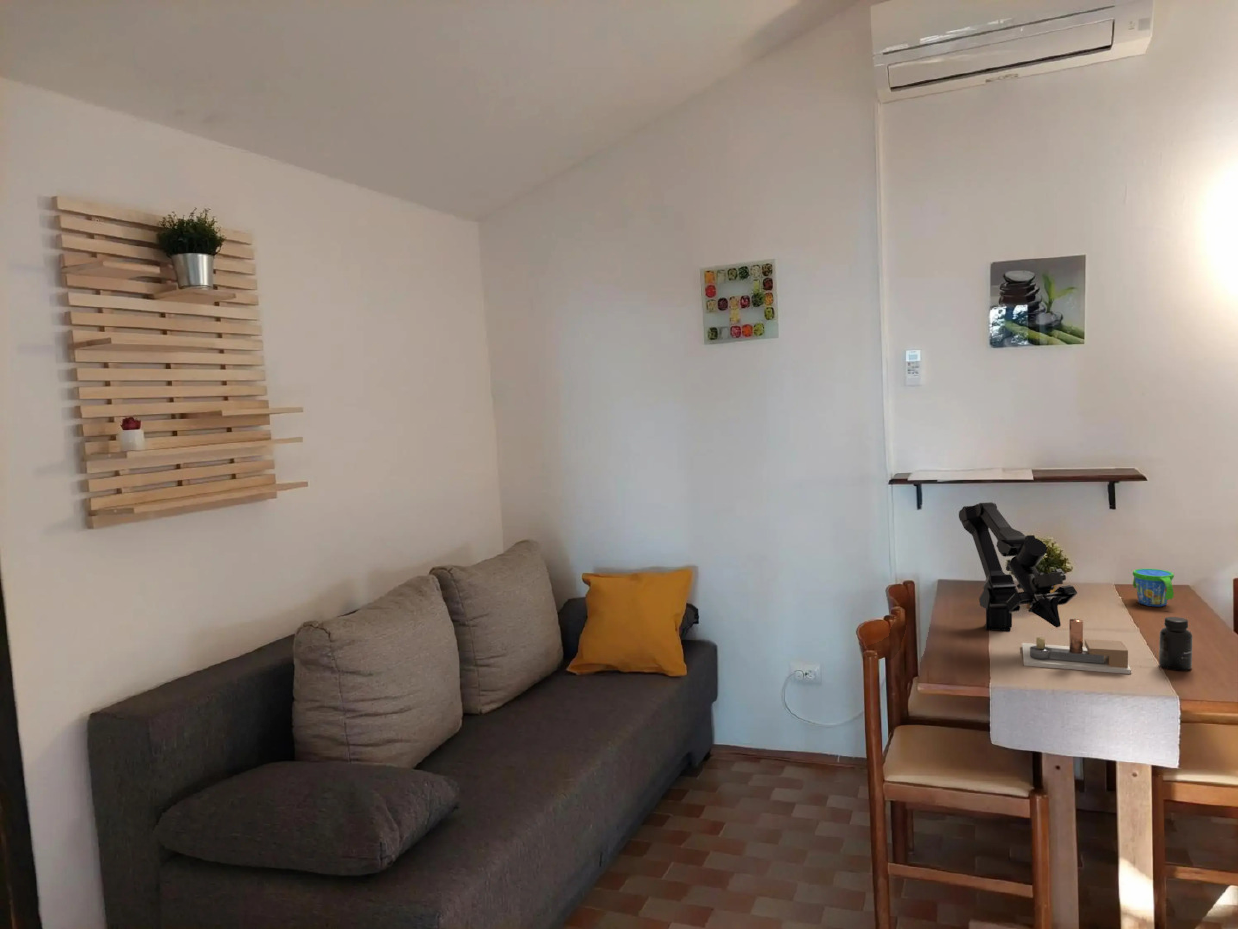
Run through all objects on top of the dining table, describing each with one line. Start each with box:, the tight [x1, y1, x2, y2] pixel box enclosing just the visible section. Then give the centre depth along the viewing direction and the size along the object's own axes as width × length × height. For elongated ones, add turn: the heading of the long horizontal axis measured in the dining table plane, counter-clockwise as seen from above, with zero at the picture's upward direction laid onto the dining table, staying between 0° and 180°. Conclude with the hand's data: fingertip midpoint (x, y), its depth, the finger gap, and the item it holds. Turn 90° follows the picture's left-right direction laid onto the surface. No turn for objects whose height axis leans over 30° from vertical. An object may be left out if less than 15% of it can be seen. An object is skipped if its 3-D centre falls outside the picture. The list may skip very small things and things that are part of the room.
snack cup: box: [1132, 568, 1175, 608], centre depth 270 cm, size 16×11×10 cm
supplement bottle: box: [1158, 616, 1193, 672], centre depth 214 cm, size 7×7×12 cm
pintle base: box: [1021, 636, 1132, 675], centre depth 223 cm, size 24×16×6 cm
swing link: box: [1030, 618, 1104, 664], centre depth 220 cm, size 16×5×10 cm, turn 65°
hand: (1058, 626), depth 226 cm, fingers closed
